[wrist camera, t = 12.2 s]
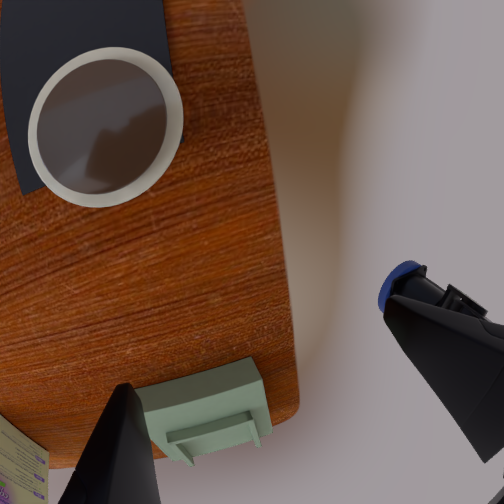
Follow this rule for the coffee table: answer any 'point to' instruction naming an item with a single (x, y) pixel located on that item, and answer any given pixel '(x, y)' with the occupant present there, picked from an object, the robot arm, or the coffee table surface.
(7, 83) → the mat
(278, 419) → the coffee table surface
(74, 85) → the jar
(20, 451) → the box
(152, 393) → the stand
